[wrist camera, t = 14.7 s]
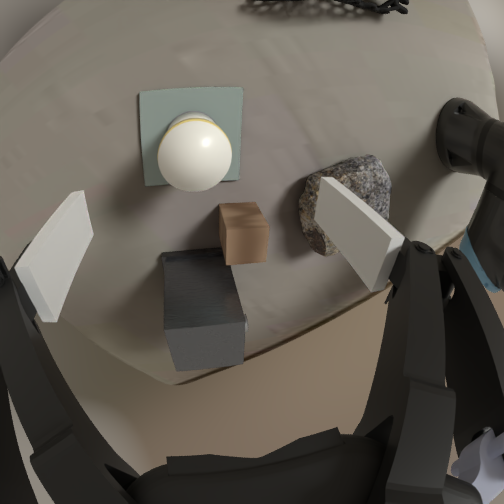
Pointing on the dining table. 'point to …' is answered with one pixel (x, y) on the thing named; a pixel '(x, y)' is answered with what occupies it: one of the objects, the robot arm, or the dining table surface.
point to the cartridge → (194, 152)
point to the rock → (358, 182)
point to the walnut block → (243, 233)
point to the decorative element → (372, 5)
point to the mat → (182, 100)
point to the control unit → (202, 310)
